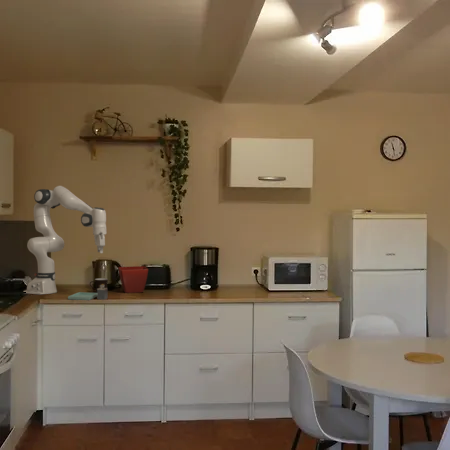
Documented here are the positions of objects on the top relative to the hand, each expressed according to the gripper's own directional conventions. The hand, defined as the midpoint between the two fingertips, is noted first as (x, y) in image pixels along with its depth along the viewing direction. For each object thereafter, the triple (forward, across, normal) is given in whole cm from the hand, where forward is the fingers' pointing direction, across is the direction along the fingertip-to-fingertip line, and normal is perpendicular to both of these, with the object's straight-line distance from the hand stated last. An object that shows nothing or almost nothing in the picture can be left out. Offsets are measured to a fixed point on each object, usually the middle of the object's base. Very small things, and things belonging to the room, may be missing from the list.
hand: (100, 252), depth 374 cm
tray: (+30, +4, +11) cm, 32 cm away
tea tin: (+30, -4, 0) cm, 31 cm away
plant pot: (+30, +18, -25) cm, 43 cm away
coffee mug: (+30, +18, -2) cm, 35 cm away
